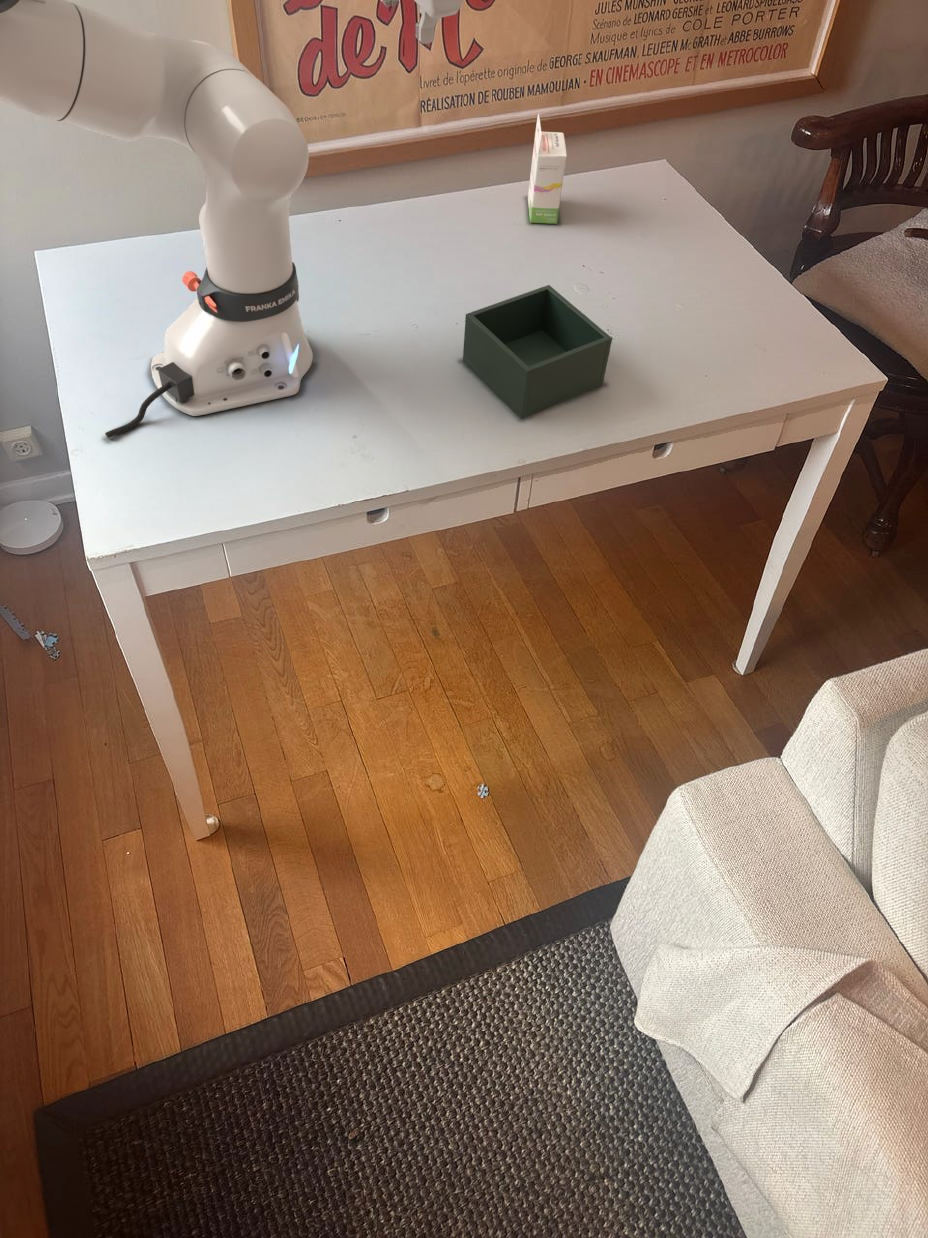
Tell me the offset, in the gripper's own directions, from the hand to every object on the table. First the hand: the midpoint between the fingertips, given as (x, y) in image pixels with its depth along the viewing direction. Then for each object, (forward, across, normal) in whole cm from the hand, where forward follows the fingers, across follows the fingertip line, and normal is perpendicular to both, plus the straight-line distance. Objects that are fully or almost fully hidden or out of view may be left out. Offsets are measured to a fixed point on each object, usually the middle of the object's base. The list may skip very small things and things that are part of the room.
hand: (406, 21), depth 117 cm
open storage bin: (+38, +26, +8) cm, 46 cm away
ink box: (+42, -12, +33) cm, 54 cm away
